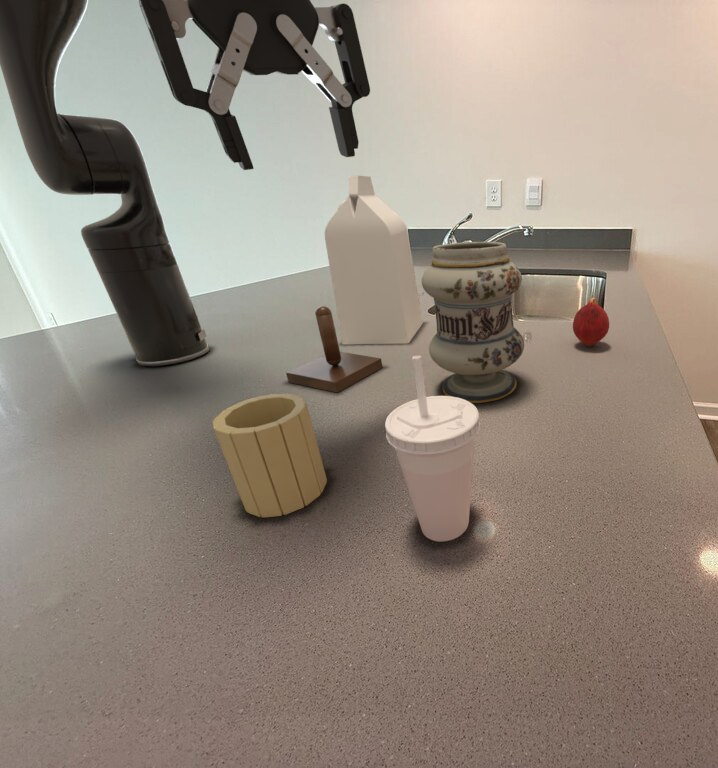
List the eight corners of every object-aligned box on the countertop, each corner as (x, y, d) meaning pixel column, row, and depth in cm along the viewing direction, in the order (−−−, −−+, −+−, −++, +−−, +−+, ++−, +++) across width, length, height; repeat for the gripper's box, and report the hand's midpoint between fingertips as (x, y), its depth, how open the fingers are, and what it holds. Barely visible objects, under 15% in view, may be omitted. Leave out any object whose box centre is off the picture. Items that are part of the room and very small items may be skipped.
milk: (408, 343, 70) (385, 174, 59) (342, 344, 70) (306, 175, 59) (423, 323, 81) (405, 176, 70) (365, 323, 81) (339, 178, 70)
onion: (607, 353, 64) (611, 303, 60) (570, 351, 65) (572, 302, 61) (607, 341, 69) (611, 294, 66) (573, 339, 70) (575, 293, 67)
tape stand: (288, 382, 56) (268, 312, 52) (337, 359, 64) (323, 296, 60) (337, 392, 53) (320, 318, 49) (382, 367, 61) (371, 301, 56)
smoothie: (409, 498, 34) (384, 342, 28) (485, 492, 35) (476, 338, 29) (396, 559, 29) (361, 380, 23) (487, 552, 29) (476, 374, 23)
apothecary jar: (474, 362, 62) (465, 237, 54) (541, 380, 55) (543, 241, 48) (414, 392, 53) (394, 247, 45) (486, 417, 46) (477, 254, 39)
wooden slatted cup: (227, 504, 34) (193, 423, 31) (291, 462, 39) (268, 388, 36) (281, 526, 32) (250, 440, 28) (341, 478, 37) (322, 400, 34)
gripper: (312, -93, 31) (361, 147, 41) (70, -135, 24) (200, 165, 35) (348, -120, 27) (393, 158, 37) (62, -181, 20) (215, 181, 30)
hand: (300, 161), depth 36 cm, fingers open, 8 cm apart
